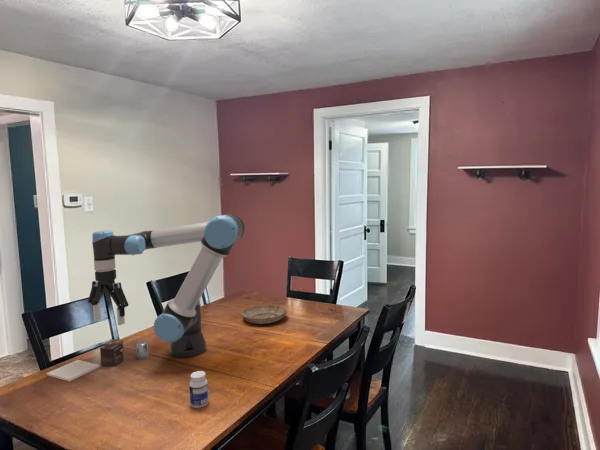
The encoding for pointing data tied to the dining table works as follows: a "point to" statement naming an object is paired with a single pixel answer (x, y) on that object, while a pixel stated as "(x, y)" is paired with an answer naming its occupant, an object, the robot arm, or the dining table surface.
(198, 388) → the pill bottle
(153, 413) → the dining table surface
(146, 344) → the grey tin
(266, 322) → the ceramic bowl
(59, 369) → the plate
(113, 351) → the box
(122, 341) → the walnut cube
